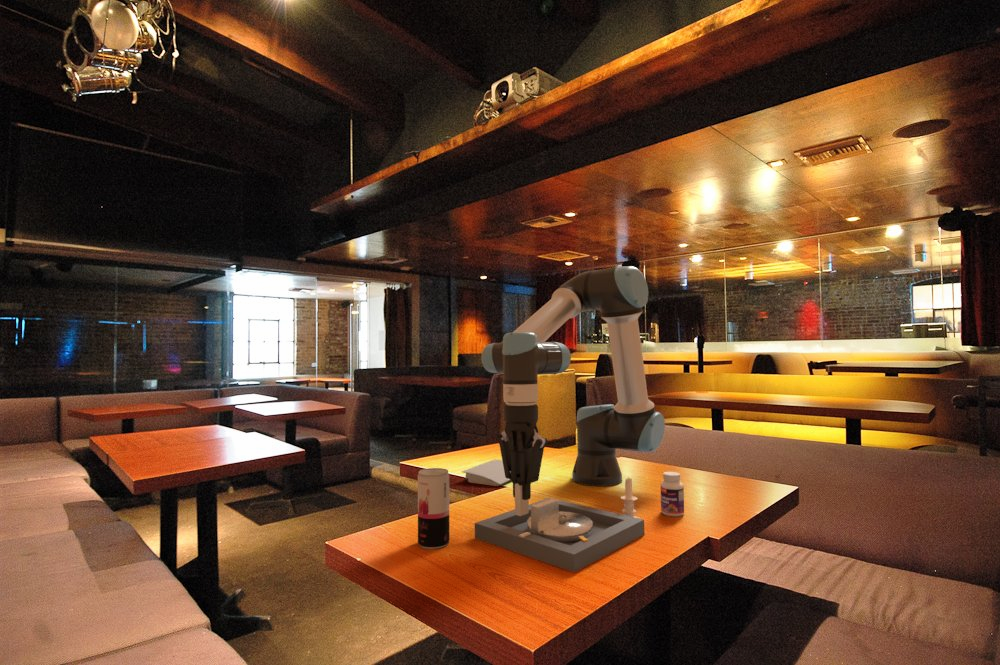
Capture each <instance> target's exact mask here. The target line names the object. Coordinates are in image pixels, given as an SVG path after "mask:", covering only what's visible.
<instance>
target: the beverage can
mask: <svg viewBox="0 0 1000 665" xmlns="http://www.w3.org/2000/svg"><path fill="white" fill-rule="evenodd" d="M450 537H451V535H450V473H449V469H446V468H441V467H430V468H424V469H420V470H419V471H418V474H417V544H418V545H419V546H420V547H421V548H422V549H427V550H436V549H437V550H438V549H442V548H444V547H446V546H447V545H448V544H449V543H450Z"/></svg>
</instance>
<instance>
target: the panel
mask: <svg viewBox="0 0 1000 665" xmlns="http://www.w3.org/2000/svg"><path fill="white" fill-rule="evenodd" d="M549 499H554V498H553V497H547V498H545V499H544V498H543V499H541V500H538V501H536V502H532V503H529V513H528V514H525V515H522V516H518V515H515V508H514V509H512V510H509V511H506V512H503V513H500V514H497V515H494V516H491V517H489V518H485V519H483V520H479V521H477V522H474V539H476V540H480V541H482V542H486V543H488V544H491V545H494V546H496V547H500V548H502V549H505V550H508V551H511V552H514V553H516V554H520V555H522V556H526V557H529V558H531V559H535V560H537V561H541V562H542V563H543V562H544V563H546V564H549V565H551V566H555V567H558V568H560V569H562V570H563V569H564V570H566V571H569V572H572V573H576V572H579V571H580V570H583V569H584V568H586V567H587V566H590V565H591V564H593V563H594V562H597V561H598V560H600V559H602V558H605V557H606V556H607V555H610V554H611V553H613V552H615V551H617V550H618V549H622V548H623V547H624V546H627V545H628V544H630V543H632V542H633V541H636V540H637V539H640V537H642V536H644V535H645V519H642V518H640V517H638V518H635V517H631V516H626V515H625V514H623V513H622V514H621V513H619V512H617V513H616V512H612V511H608V510H605V509H604V510H603V509H601V508H600V509H599V508H595V507H591V506H586V505H583V504H578V503H574V502H570V501H565V500H562V499H556V498H555V499H556V500H559V511H561V512H572V513H577V514H581V515H584V516H586V517H588V518H590V519H591V520H592V522H593V534H592V535H591V536H590V537H588V538H585V537H584V536H578V538H579V539H581V541H577V542H567V543H560V542H557V541H553V540H550V539H547V538H543V537H540V536H537V535H534V534H531V533H530V532H528V530H527V520H528V518H529V517H531V506H532V505H535V504H538V503H540V502H543V501H546V500H549ZM639 518H640V519H639Z"/></svg>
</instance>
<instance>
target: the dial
mask: <svg viewBox="0 0 1000 665" xmlns="http://www.w3.org/2000/svg"><path fill="white" fill-rule="evenodd" d="M559 500H560V499H558V500H556V498H553V499H549V500H546V501H543V502H540V503H538V504H535V505H532V506H531V517H529V518H528V520H527V530H528V532H530V533H531V534H534V535H537V536H540V537H543V538H547V539H550V540H553V541H557V542H560V543H567V542H577V541H581V539H579V538H578V536H584V537H585V538H588V537H590V536H591V535H592V534H593V522H592V520H591V519H590V518H588V517H586V516H584V515H581V514H577V513H572V512H561V511H559Z"/></svg>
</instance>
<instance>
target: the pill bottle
mask: <svg viewBox="0 0 1000 665" xmlns="http://www.w3.org/2000/svg"><path fill="white" fill-rule="evenodd" d="M662 475H663V476H662V478H663V481H661V482H660V511H661V513H662V514H663V515H665V516H667V517H682V516H684V514H685V494H684V492H685V489H684V488H685V487H684V484H683V483H682V482H681V473H680V472H676V471H665V472H663V473H662Z"/></svg>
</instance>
